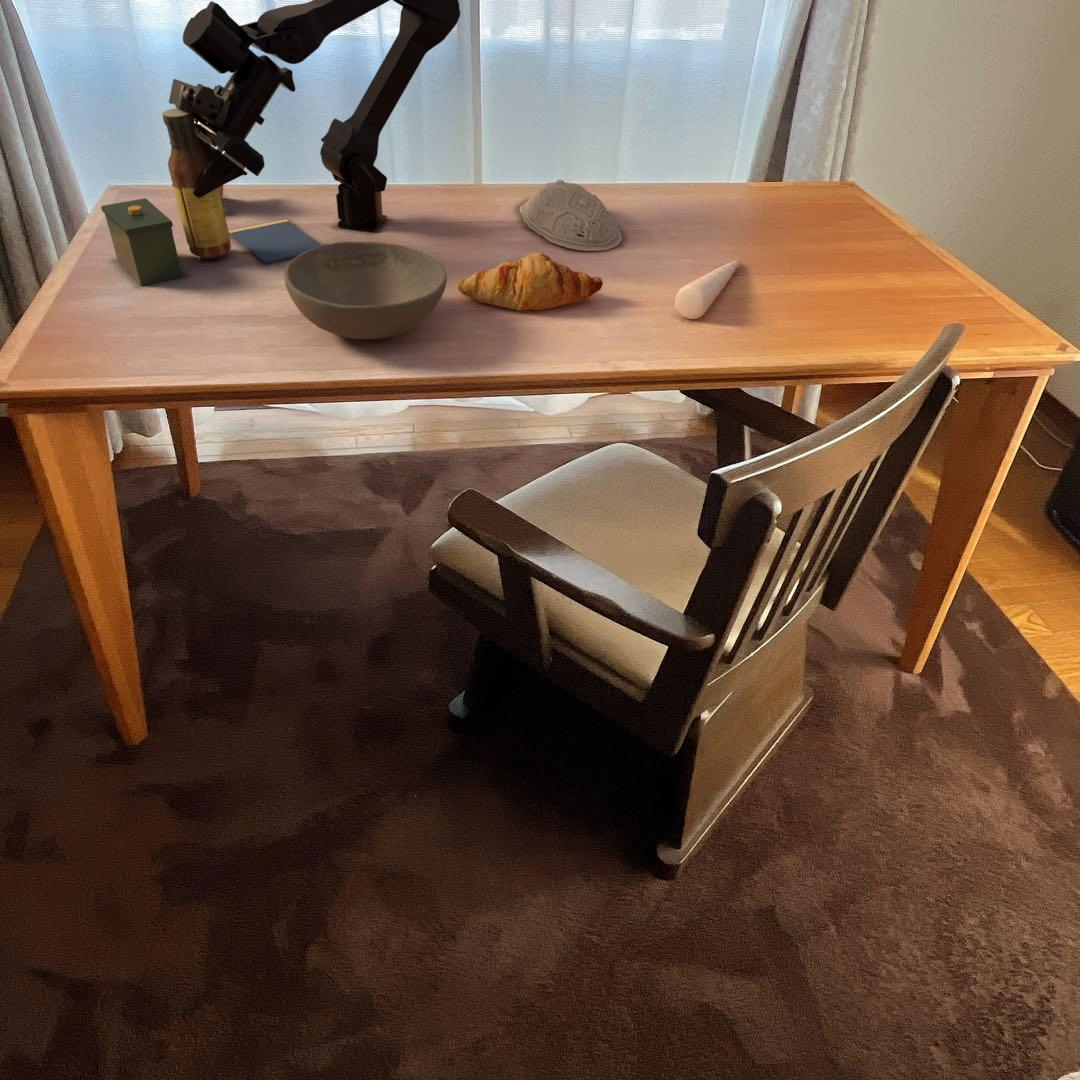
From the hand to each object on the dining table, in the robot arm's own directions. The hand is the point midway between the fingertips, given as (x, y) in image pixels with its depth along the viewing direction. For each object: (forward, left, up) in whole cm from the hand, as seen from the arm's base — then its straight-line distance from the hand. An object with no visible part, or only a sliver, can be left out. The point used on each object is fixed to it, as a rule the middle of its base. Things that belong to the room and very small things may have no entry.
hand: (187, 189), depth 126 cm
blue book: (-8, -9, -10) cm, 16 cm away
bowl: (-32, +13, -10) cm, 36 cm away
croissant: (-51, -2, -10) cm, 52 cm away
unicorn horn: (-77, -13, -10) cm, 79 cm away
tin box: (+5, +6, -10) cm, 13 cm away
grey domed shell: (-51, -33, -10) cm, 62 cm away
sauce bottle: (-1, -1, -10) cm, 10 cm away
